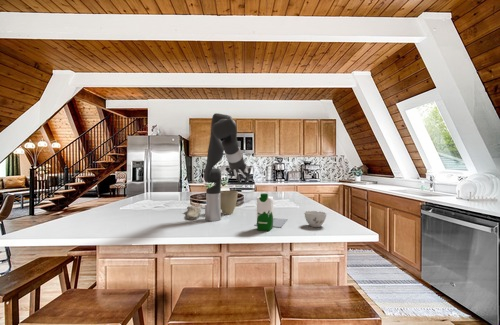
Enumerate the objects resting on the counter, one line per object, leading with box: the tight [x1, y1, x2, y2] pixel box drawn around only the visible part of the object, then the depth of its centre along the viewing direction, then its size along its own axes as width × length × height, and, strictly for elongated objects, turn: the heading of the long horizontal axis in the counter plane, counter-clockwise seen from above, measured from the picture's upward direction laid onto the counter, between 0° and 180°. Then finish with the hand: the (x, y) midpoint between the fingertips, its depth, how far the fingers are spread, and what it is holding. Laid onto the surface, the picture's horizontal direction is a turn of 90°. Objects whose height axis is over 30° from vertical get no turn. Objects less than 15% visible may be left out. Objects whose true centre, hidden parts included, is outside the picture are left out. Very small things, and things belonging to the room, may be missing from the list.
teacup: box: [303, 210, 327, 228], centre depth 155 cm, size 15×12×8 cm
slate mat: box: [254, 217, 288, 229], centre depth 163 cm, size 16×22×1 cm
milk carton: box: [256, 193, 274, 232], centre depth 147 cm, size 9×9×20 cm
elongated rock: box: [186, 205, 201, 221], centre depth 186 cm, size 35×5×10 cm
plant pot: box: [221, 190, 239, 215], centre depth 192 cm, size 15×15×16 cm
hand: (242, 180), depth 135 cm, fingers open, 3 cm apart
